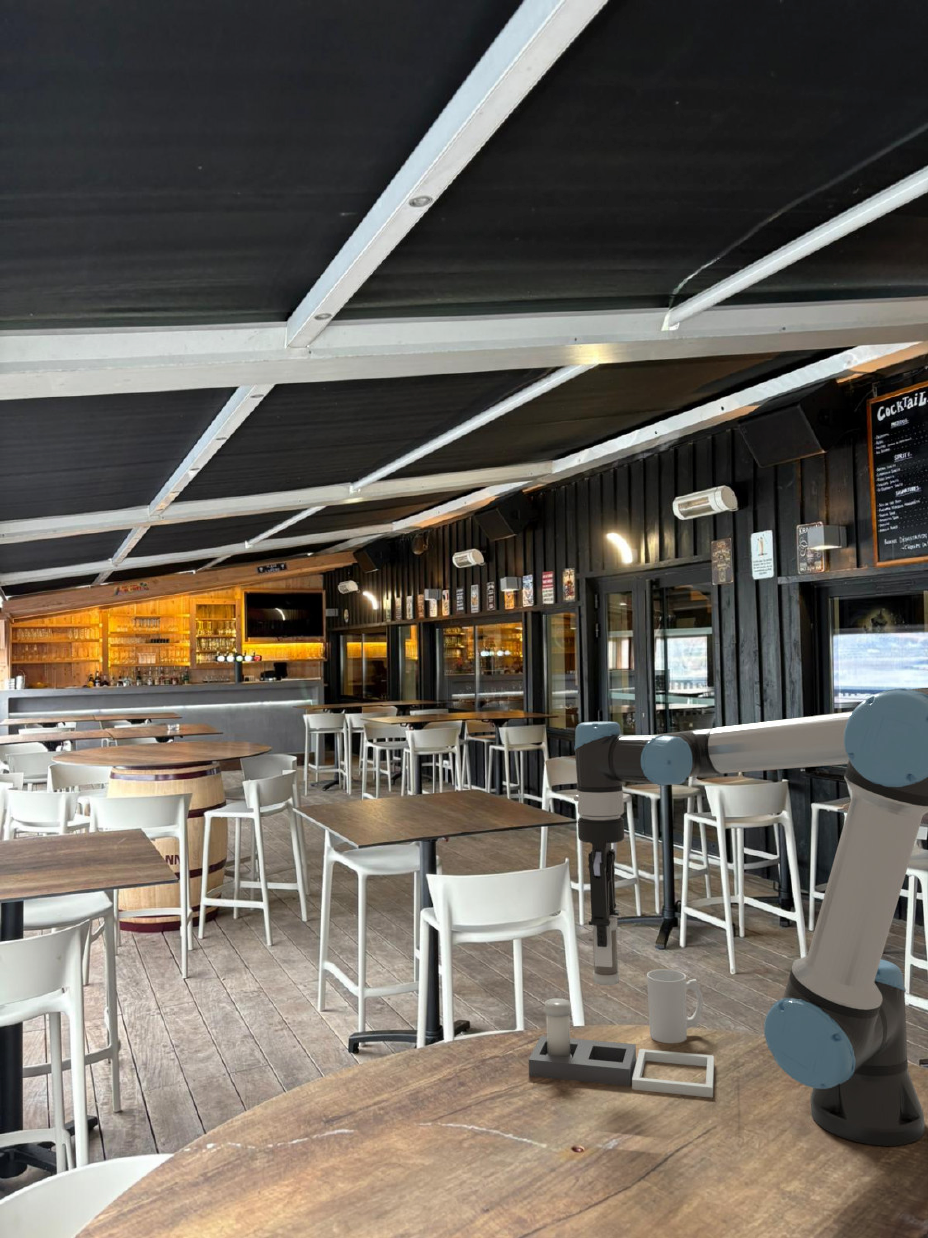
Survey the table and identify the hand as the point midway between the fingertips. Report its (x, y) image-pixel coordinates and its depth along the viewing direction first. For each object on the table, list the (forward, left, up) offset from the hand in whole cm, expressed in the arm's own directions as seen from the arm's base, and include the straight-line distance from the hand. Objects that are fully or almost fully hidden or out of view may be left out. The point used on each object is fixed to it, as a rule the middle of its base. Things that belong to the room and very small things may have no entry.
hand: (605, 961), depth 150 cm
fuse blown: (0, 0, -3) cm, 3 cm away
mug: (-10, -17, -19) cm, 27 cm away
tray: (-10, 0, -19) cm, 21 cm away
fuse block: (+4, 0, -19) cm, 19 cm away
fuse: (+8, 0, -17) cm, 19 cm away
